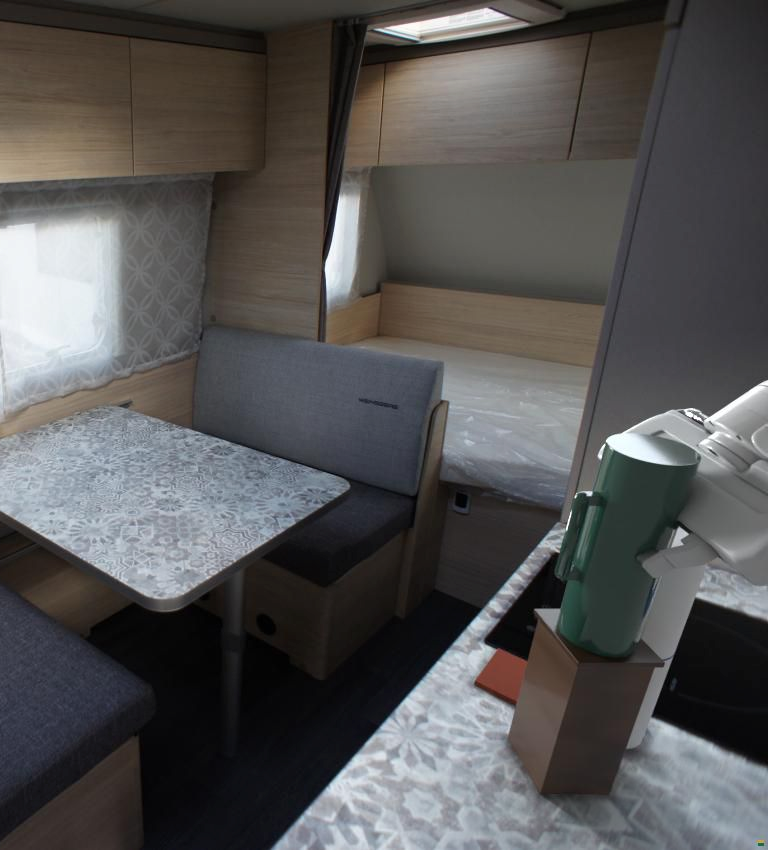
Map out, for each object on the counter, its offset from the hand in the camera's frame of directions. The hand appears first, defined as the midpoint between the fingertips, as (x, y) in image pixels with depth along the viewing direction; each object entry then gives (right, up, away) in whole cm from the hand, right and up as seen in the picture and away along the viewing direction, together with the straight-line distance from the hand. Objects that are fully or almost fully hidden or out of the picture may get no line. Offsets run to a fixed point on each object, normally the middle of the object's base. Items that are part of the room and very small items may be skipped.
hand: (616, 543), depth 61 cm
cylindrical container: (+10, -24, +16) cm, 31 cm away
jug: (+1, -10, +4) cm, 10 cm away
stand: (+2, -26, +11) cm, 28 cm away
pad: (+4, -21, +22) cm, 31 cm away
